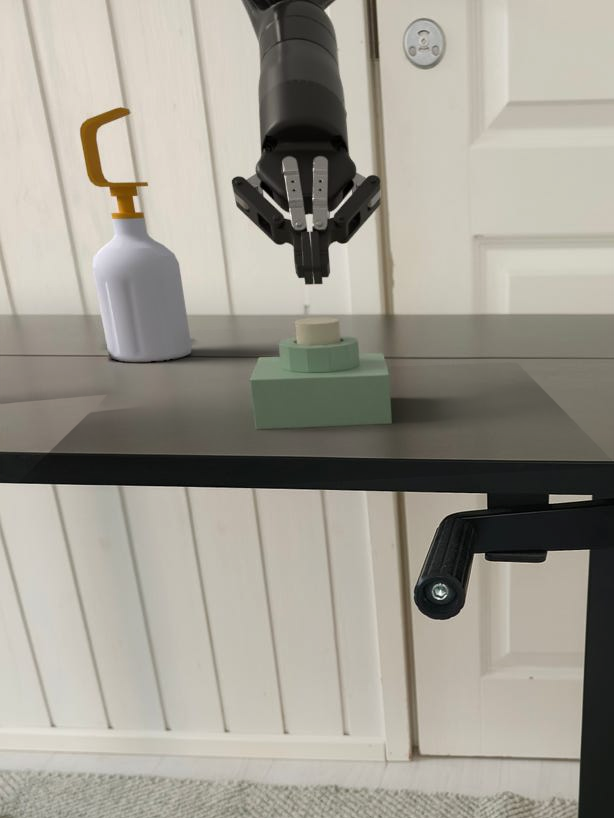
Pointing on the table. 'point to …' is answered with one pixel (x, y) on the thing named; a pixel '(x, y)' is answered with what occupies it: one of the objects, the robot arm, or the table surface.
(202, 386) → the table surface
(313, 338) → the cylinder
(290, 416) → the dispenser
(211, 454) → the table surface
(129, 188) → the soap bottle
